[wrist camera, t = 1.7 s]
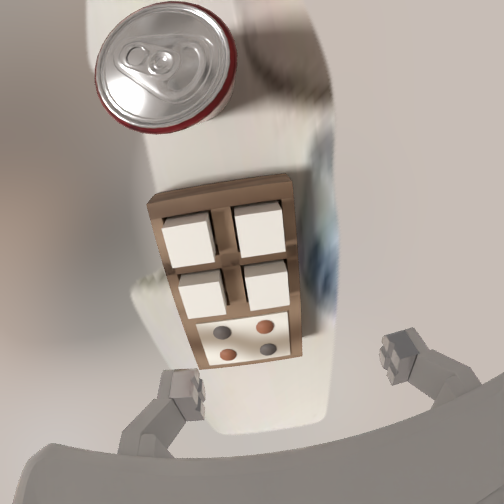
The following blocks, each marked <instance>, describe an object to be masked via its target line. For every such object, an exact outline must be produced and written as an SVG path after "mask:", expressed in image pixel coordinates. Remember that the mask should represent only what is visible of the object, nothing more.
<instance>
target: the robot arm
mask: <svg viewBox="0 0 504 504" xmlns="http://www.w3.org/2000/svg"><path fill="white" fill-rule="evenodd" d="M382 344H383V346H382V347H381V348H380V353H379V357H380V362H381V365H382V367H383V368H384V369H386V370H387V371H388V372H387V377H388V379H389V381H390V383H391V385H396V384H399V383H403V382H406V381H408V382H409V383H410V384H412V385H414V386H415V387H416V388H418V389H419V390H420V391H422V392H423V393H425V394H426V395H428V396H429V397H431V398H432V399H433V400H435V402H434V404H433V406H432V408H431V409H430V410H429V411H426V412H424V413H421V414H419V415H416V416H414V417H411V418H408V419H406V420H403V421H400V422H397V423H395V424H392V425H389V426H385V427H382V428H379V429H376V430H373V431H370V432H366V433H363V434H360V435H356V436H352V437H348V438H344V439H341V440H337V441H332V442H328V443H323V444H319V445H314V446H309V447H304V448H299V449H292V450H286V451H280V452H273V453H265V454H257V455H247V456H235V457H221V458H174V457H173V456H172V455H171V454H170V452H169V451H168V450H167V449H168V447H169V446H170V444H171V443H172V442H173V440H174V439H175V437H176V436H177V434H178V433H179V432H180V430H181V429H182V427H183V426H184V424H185V423H186V421H196V420H197V421H198V420H204V418H205V407H204V405H203V402H204V401H205V387H204V383H203V380H202V379H200V378H199V376H200V373H199V371H198V369H196V368H195V369H174V370H163V372H162V375H161V380H160V385H159V390H158V396H157V399H153V401H152V402H151V403H150V404H149V405H148V406H147V407H146V408H145V409H144V410H143V411H142V412H141V413H140V414H139V415H138V416H137V417H136V418H135V419H134V420H133V421H132V422H131V423H130V424H129V425H128V426H127V427H126V428H125V429H124V430H123V431H122V435H121V439H120V444H119V449H118V453H117V454H111V453H104V452H97V451H90V450H85V449H79V448H74V447H69V446H65V445H61V444H56V443H51V444H48V445H47V446H45V447H44V448H42V449H41V450H39V451H38V452H37V453H36V454H35V455H34V456H32V457H31V458H30V459H29V460H28V461H27V463H26V465H25V467H24V469H23V471H22V473H21V476H20V479H19V482H18V485H17V489H16V492H15V496H14V500H13V503H12V504H504V372H503V373H502V374H500V375H498V376H497V377H495V378H493V379H491V380H490V381H488V382H486V383H484V384H483V385H482V384H481V383H480V381H479V380H478V378H477V377H476V375H475V374H474V372H473V371H472V369H471V368H470V367H468V366H466V365H464V364H462V363H460V362H458V361H456V360H454V359H451V358H449V357H447V356H445V355H443V354H441V353H439V352H437V351H435V350H429V349H428V347H427V346H426V344H425V343H424V341H423V340H422V338H421V337H420V336H419V334H418V333H417V332H416V330H415V328H409V329H405V330H402V331H398V332H395V333H392V334H388V335H384V336H383V338H382Z"/></svg>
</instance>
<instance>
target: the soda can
mask: <svg viewBox="0 0 504 504" xmlns="http://www.w3.org/2000/svg"><path fill="white" fill-rule="evenodd" d="M236 71H237V49H236V45H235V40H234V38H233V36H232V34H231V32H230V30H229V28H228V27H227V26H226V24H225V23H224V22H223V21H222V20H221V18H219V17H218V16H217V15H215V14H214V13H213V12H212V11H210V10H208V9H206V8H204V7H202V6H200V5H196V4H192V3H188V2H179V1H168V2H161V3H155V4H152V5H149V6H146V7H143V8H141V9H139V10H137V11H135V12H134V13H132V14H130V15H129V16H127V17H126V18H125V19H123V20H122V21H121V22H120V23H119V24H118V25H117V26H116V27H115V28H114V29H113V30H112V31H111V32H110V34H109V35H108V37H107V38H106V40H105V41H104V43H103V44H102V47H101V49H100V52H99V54H98V56H97V61H96V66H95V85H96V90H97V94H98V97H99V98H100V101H101V103H102V105H103V107H104V108H105V109H106V111H107V112H108V114H109V115H110V116H111V117H112V118H113V119H115V120H116V121H117V122H118V123H119V124H121V125H123V126H125V127H127V128H129V129H131V130H134V131H137V132H140V133H146V134H167V133H173V132H176V131H180V130H184V129H186V128H189V127H192V126H194V125H197V124H200V123H202V122H205V121H207V120H209V119H211V118H213V117H214V116H216V115H217V114H219V113H220V112H221V111H222V110H223V109H224V108H225V106H226V105H227V104H228V102H229V100H230V98H231V96H232V94H233V90H234V85H235V78H236Z"/></svg>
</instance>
